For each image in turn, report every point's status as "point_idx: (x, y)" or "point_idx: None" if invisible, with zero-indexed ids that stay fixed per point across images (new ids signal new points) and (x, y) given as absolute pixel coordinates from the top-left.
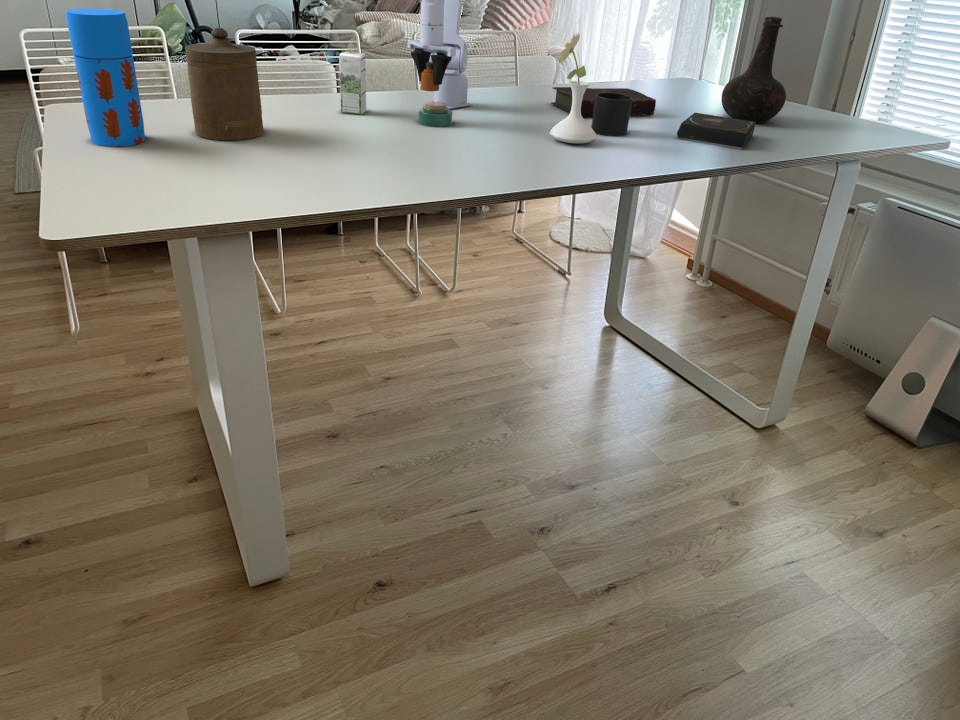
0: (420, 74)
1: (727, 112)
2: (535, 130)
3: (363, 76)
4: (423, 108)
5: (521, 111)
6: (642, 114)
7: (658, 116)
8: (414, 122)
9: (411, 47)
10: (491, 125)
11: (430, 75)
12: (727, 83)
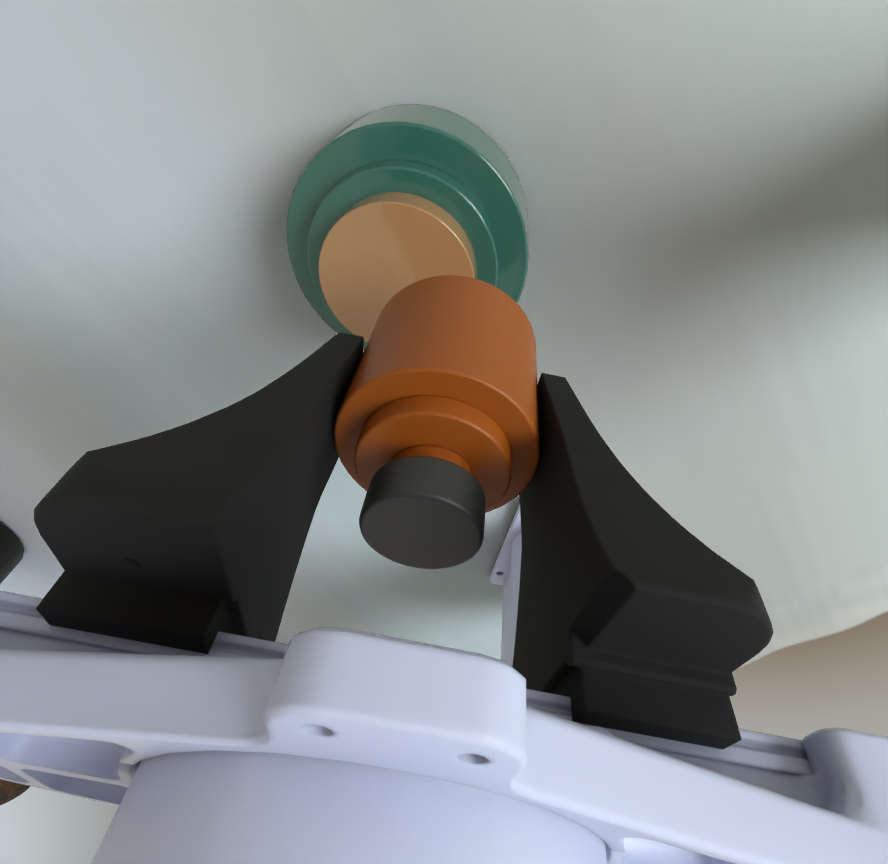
0: (551, 411)
1: None
2: (52, 419)
3: None
4: (466, 195)
5: (316, 594)
6: None
7: None
8: (533, 133)
9: (820, 753)
10: (205, 382)
11: (374, 367)
12: (2, 782)
